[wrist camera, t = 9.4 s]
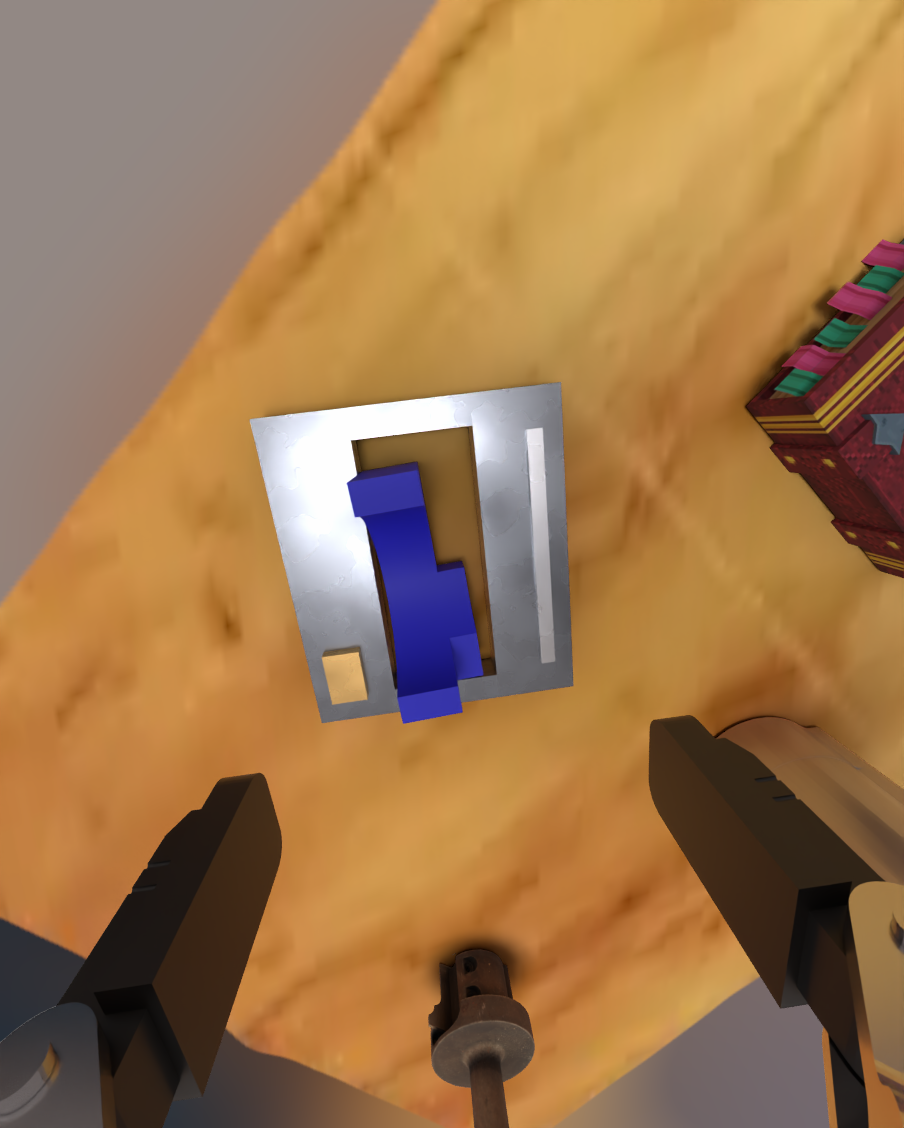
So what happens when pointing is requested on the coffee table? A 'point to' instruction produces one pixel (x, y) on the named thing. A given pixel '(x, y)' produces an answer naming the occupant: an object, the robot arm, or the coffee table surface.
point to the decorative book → (850, 410)
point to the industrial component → (480, 1033)
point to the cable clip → (418, 594)
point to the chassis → (347, 554)
